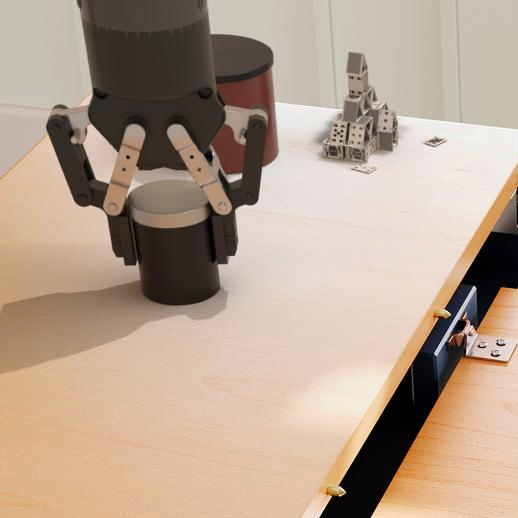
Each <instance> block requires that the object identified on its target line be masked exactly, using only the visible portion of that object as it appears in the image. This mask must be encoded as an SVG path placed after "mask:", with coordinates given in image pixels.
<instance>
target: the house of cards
mask: <svg viewBox="0 0 518 518" xmlns="http://www.w3.org/2000/svg"><path fill="white" fill-rule="evenodd" d="M347 52H348V53H347V61H346V69H345V75H347V87H348V93H347V94H346V95H345V97H344V98H343V104H342V111H341V112H339V113H338V114H337V115H336V116H335V117H334V118H333V119H332V120H331V129H330V134H329V135H328V136H327V137H326V138H325V139H324V140H323V141H322V156H323V158H329V159H334V160H342V161H345V162H347V161H351V162H357V164H355V165H354V166H351V169H353V170H356V171H360V172H363V173H366V174H370V173H372V172H373V171H375V170H377V169H378V167H376V166H373V165H369V164H368V163H369V162H368V161H369V158H370V157H371V155H372V154H373V153H374V152H375V151H376V150H378V151H381V150H383V151H382V152H388V153H394V145H393V144H396V145H395V146H397V145H398V146H399V135H398V134H399V132H398V126H399V122H398V118H397V115H396V111H395V110H393V109H392V110H391V109H389V106H388V103H387V101H383V100H378V96H377V93H376V90H375V85H369V66H368V63H367V60H366V56H365V53H362V52H356V51H355V52H354V51H347ZM447 140H448V138H445V137H441V136H438V135H434V136H432V137H430V138H428V139H426V140H425V141H423V143H424V144H427V145H431V146H433V147H436V146H439V145H440V144H442V143H444V142H446V141H447ZM377 146H378V147H377ZM377 148H378V149H377Z"/></svg>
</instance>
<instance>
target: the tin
mask: <svg viewBox="0 0 518 518" xmlns="http://www.w3.org/2000/svg"><path fill="white" fill-rule="evenodd" d="M210 35H211V44H212V53H213V63H214V72H215V81H216V87H217V89H218V92H219V94H220V95H221V97H222V98H223V99H224V101H225V103H226V105H228V106H234V107H239V108H245V109H250V108H251V107H252V106H253V105H256V104H260V105H263V106H264V107H266V109H267V110H268V123H267V132H266V140H265V149H264V157H263V166H262V168H263V167H265V166H267V165H269V164H270V163H272V162H273V161H274V160H275V159H276V158H277V157H278V155H279V153H280V152H279V151H280V147H279V137H278V125H277V123H278V122H277V112H276V111H277V110H276V100H275V89H274V87H275V86H274V76H273V75H274V74H273V66H274V63H275V59H274V52H273V49H272V48H271V47H270V46H269V45H267V44H266V43H264V41H263V42H262V41H260V40H258V39H255V38H251V37H247V36H242V35H237V34H236V35H235V34H225V33H210ZM211 145H212V147H213V149H214V151H215V152H216V154H217V156H218V158H219V161H220V165H221V167H222V169H223V171H224V173H225V174H226V175H234V174H242V172H243V163H244V154H245V145H242V144H239V143H238V142H237V141H236V140H235V138H234V132H233V130H232V128H231V127H230V126H228V125H226V124H224V125H223V127H222V128H221V130H220V131H219V133H218V134H217V136H216V137H215V139H214V140H213V142H212V143H211ZM187 172H190V171H189V170H187Z"/></svg>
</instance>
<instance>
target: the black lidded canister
mask: <svg viewBox="0 0 518 518" xmlns="http://www.w3.org/2000/svg"><path fill="white" fill-rule="evenodd" d="M127 202H128V209H129V214H130V216H131V218H132V225H133V232H134V239H135V245H136V252H137V259H138V260H137V265H138V271H139V279H140V286H141V292H142V294H143V296H144V297H145V298H146V299H147V300H149V301H151V302H153V303H156V304H160V305H164V306H173V307H174V306H175V307H177V306H179V307H180V306H190V305H195V304H200V303H204V302H205V301H208V300H209V299H212V298H213V297H215V296H216V295H217V294H218V292H219V291H220V290H221V280H220V278H221V277H220V270H219V265H218V264H217V259H216V251H215V242H214V233H213V225H212V210H213V207H212V205H211V204H210V202H209V200H208V198H207V197H206V195H205V193H204V191H203V190H202V188H200V187H199V186H198V185H197V184H196V182H195V181H192V180H186V179H174V178H173V179H172V178H171V179H161V180H155V181H150V182H147V183H143V184H140V185H138V186H136V187H134V188H133V189H132V190H131V191H130V192H128V194H127Z"/></svg>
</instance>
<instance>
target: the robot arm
mask: <svg viewBox="0 0 518 518" xmlns="http://www.w3.org/2000/svg"><path fill="white" fill-rule="evenodd" d="M76 5H77V8H78V10H79V13H80V14H79V15H80V20H81V26H82V33H83V39H84V45H85V51H86V57H87V64H88V65H87V66H88V70H89V77H90V84H91V90H92V91H91V92H92V93H91V98H90V101H89V104H87V105H80V106H74V107H71V108H69V107H68V106H67V105H65V104H62V103H61V104H60V103H58V104H55V105H54V106H53V107H52V109H51V110H50V113H49V115H48V118H47V122H46V124H45V130H46V133H47V135H48V138H49V140H50V143H51V145H52V148H53V150H54V152H55V156H56V158H57V160H58V163H59V166H60V169H61V171H62V173H63V176H64V179H65V181H66V184H67V186H68V189H69V192H70V194H71V196H72V200H73V201H74V204H76V205H77V206H78V207H80V208H87V207H89V206H91V207H95V208H97V209H99V210H101V211H103V213H104V214H105V216H106V218H107V225H108V229H109V231H108V233H109V237H110V243H111V250H112V252H113V254H114V256H115V257H116V258H119V259H120V258H123V264H124V266H125V267H132V266H133V267H136V266H137V265H138V259H137V252H136V245H135V239H134V232H133V225H132V218H131V216H130V214H129V209H128V202H127V197H128V194H129V189H130V186H131V184H132V181H133V177H134V174H135V170H136V168H137V169H138V171H154V170H158V169H163V168H164V169H168V170H172V171H188V170H189V171H188V172H189V173H190V175H191V176H192V179H193V180H194V182H196V184H197V185H198V186H199V187H200V188H202V190H203V191H204V193H205V195H206V197H207V198H208V200H209V202H210V204H211V205H212V207H213V210H212V225H213V233H214V242H215V251H216V259H217V264H218V266H219V265H220V266H221V265H229V260H230V257H235V256H236V254H237V251H238V245H239V233H238V224H237V214H236V210H237V209H238V208H240V207H243V206H255V205H256V204H258V202H259V199H260V190H261V182H262V172H263V167H264V166H263V157H264V149H265V140H266V132H267V123H268V110H267V109H266V107H264V106H263V105H260V104H256V105H253V106H252V107H251V108H250V109H245V108H239V107H234V106H228V105H226V103H225V101H224V99H223V98H222V97H221V95H220V94H219V92H218V89H217V87H216V81H215V72H214V63H213V53H212V44H211V35H210V34H211V27H210V26H211V25H210V18H209V17H210V16H209V7H208V0H76ZM224 124H226V125H228V126H230V127H231V128H232V130H233V132H234V138H235V140H236V141H237V142H238V143H239V144H242V145H245V154H244V163H243V172H242V173H241V178H239V179H236V180H233V181H231V182H230V180H229V178H228V176H227V174H225V173H224V171H223V169H222V167H221V165H220V161H219V158H218V156H217V154H216V152H215V151H214V149H213V147H212V145H211V143H212V142H213V140H214V139H215V137H216V136H217V134H218V133H219V131H220V130H221V128H222V127H223V125H224ZM90 125H92V127H93V128H94V129H95V130H96V131H97V132H98V133H99V134H100V135H101V136H102V137H103V138H104V139H105V140H106V141H107V143H108V144H109V145H110V146H111V147H112V148H113V149H114V150H115V151H116V152H117V156H116V160H115V163H114V167H113V170H112V173H111V176H110V180H109V182H105V181H102V180H98V179H97V178H96V175H95V173H94V169H93V167H92V164H91V162H90V159H89V156H88V154H87V151H86V148H85V146H84V143H85V141H86V138H87V136H88V133H89V131H88V126H90ZM262 166H263V167H262Z"/></svg>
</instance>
